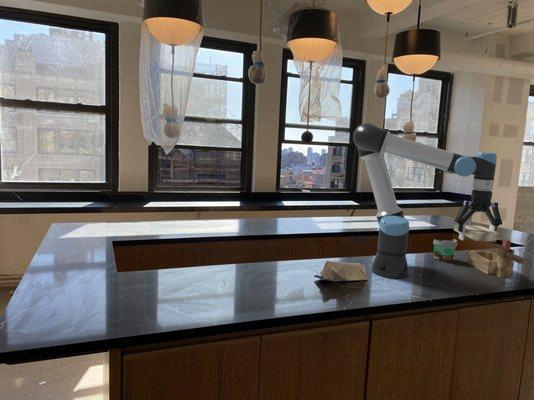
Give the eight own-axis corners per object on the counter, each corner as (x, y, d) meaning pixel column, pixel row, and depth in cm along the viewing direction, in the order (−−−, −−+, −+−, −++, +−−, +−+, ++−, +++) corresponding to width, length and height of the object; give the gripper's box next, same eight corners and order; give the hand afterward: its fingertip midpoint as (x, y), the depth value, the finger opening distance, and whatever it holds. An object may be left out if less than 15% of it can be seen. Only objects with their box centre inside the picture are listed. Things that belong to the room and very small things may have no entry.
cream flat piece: (472, 241, 157) (473, 232, 157) (453, 232, 172) (454, 224, 172) (501, 242, 158) (502, 233, 157) (479, 233, 173) (480, 225, 172)
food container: (439, 263, 183) (442, 242, 181) (430, 259, 188) (433, 239, 187) (461, 262, 186) (464, 242, 184) (452, 258, 192) (454, 238, 190)
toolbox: (492, 276, 166) (496, 249, 164) (467, 262, 186) (470, 238, 184) (517, 277, 167) (521, 250, 165) (490, 263, 186) (493, 239, 184)
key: (519, 263, 156) (521, 246, 155) (500, 255, 168) (502, 239, 167) (524, 263, 156) (527, 246, 155) (505, 255, 168) (508, 239, 167)
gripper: (458, 189, 158) (452, 241, 161) (516, 192, 159) (509, 243, 162) (449, 187, 165) (443, 236, 168) (504, 189, 166) (498, 239, 169)
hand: (475, 240), depth 165 cm, fingers closed on cream flat piece, 12 cm apart
